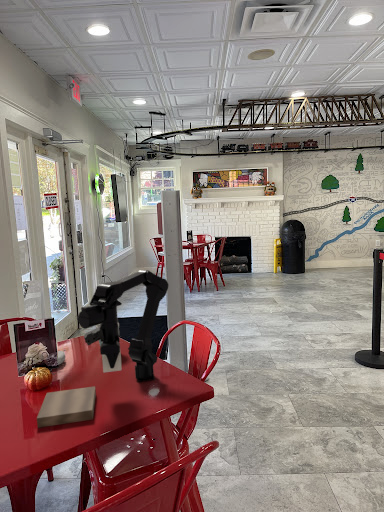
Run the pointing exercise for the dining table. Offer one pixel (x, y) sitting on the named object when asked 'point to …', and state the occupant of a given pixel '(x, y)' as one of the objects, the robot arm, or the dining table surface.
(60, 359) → the robot toy
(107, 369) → the cream cube
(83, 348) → the dining table surface
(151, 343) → the robot arm
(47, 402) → the walnut base
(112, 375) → the dining table surface
